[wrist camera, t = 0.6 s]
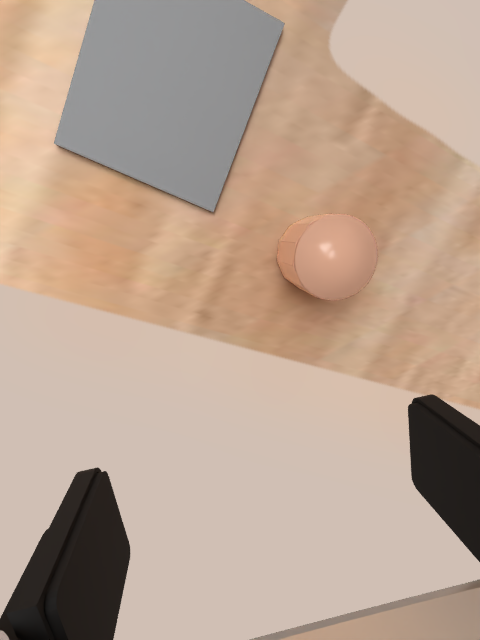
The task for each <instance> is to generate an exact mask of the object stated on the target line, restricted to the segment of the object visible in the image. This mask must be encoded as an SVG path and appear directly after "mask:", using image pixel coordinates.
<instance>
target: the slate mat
mask: <svg viewBox="0 0 480 640" xmlns="http://www.w3.org/2000/svg"><path fill="white" fill-rule="evenodd" d="M284 24H285V23H283V22H281V21H280V20H278V19H276V18H274V17H273V16H271V15H269V14H267V13H266V12H264V11H262V10H260V9H259V8H257V7H255V6H253V5H251V4H250V3H248V2H246V1H244V0H95V1H94V4H93V8H92V11H91V15H90V18H89V22H88V25H87V29H86V32H85V36H84V39H83V43H82V46H81V50H80V53H79V57H78V60H77V64H76V67H75V71H74V74H73V78H72V81H71V85H70V88H69V92H68V95H67V99H66V102H65V106H64V109H63V113H62V116H61V120H60V123H59V127H58V130H57V134H56V137H55V141H54V144H56V145H57V146H60V147H62V148H64V149H67V150H69V151H71V152H74V153H76V154H78V155H81V156H83V157H85V158H87V159H90V160H92V161H94V162H97V163H99V164H101V165H104V166H106V167H108V168H111V169H113V170H115V171H118V172H120V173H122V174H125V175H127V176H129V177H132V178H134V179H136V180H139V181H141V182H143V183H146V184H148V185H150V186H153V187H155V188H157V189H159V190H162V191H164V192H166V193H169V194H171V195H173V196H176V197H178V198H180V199H183V200H185V201H187V202H190V203H192V204H194V205H197V206H199V207H201V208H204V209H206V210H208V211H211V212H214V209H215V207H216V204H217V201H218V199H219V196H220V193H221V191H222V188H223V185H224V183H225V180H226V177H227V175H228V172H229V170H230V167H231V164H232V162H233V159H234V156H235V154H236V151H237V148H238V146H239V143H240V140H241V138H242V135H243V132H244V130H245V127H246V125H247V122H248V119H249V117H250V114H251V111H252V109H253V106H254V103H255V101H256V98H257V95H258V93H259V90H260V87H261V85H262V82H263V80H264V77H265V74H266V72H267V69H268V66H269V64H270V61H271V58H272V56H273V53H274V50H275V48H276V45H277V42H278V40H279V37H280V35H281V32H282V29H283V27H284Z"/></svg>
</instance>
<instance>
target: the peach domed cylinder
mask: <svg viewBox="0 0 480 640" xmlns="http://www.w3.org/2000/svg"><path fill="white" fill-rule="evenodd" d="M377 259H378V249H377V243H376V240H375V237H374V235H373V233H372V231H371V230H370V229H369V227H368V226H367V225H366V224H365V223H364V222H362V221H361V220H359V219H358V218H356V217H353V216H351V215H346V214H332V213H330V214H323V215H316V216H309V217H306V218H304V219H302V220H300V221H297V222H295V223H293V224H291V225H290V226H289V227H288V229H287V230H286V232H285V233H284V234H283V236H282V237H281V239H280V240H279V244H278V253H277V262H278V265H279V267H280V269H281V272H282V274H283V276H284V278H286V279H287V280H288V281H290V282H291V283H292V284H294V285H295V286H297V287H298V288H300V289H302V290H303V291H305V292H307V293H309V294H311V295H313V296H315V297H316V298H319V299H325V300H342V299H346V298H348V297H351V296H353V295H355V294H356V293H358V292H359V291H361V290H362V289H363V288H364V287H365V286H366V284H367V283H368V282H369V281H370V279H371V277H372V276H373V274H374V271H375V268H376V265H377Z"/></svg>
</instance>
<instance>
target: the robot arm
mask: <svg viewBox="0 0 480 640" xmlns="http://www.w3.org/2000/svg"><path fill="white" fill-rule="evenodd" d="M408 417H409V436H410V455H411V472H412V480H413V483H414V485H415V487H416V489H417V490H418V491H419V492H420V494H421V495H422V496H423V497H424V498H425V499H426V501H427V502H428V503H429V504H430V505H431V506H432V507H433V509H434V510H435V511H436V512H437V513H438V514H439V516H440V517H441V518H442V519H443V520H444V521H445V522H446V524H447V525H448V526H449V527H450V528H451V529H452V531H453V532H454V533H455V534H456V535H457V536H458V537H459V539H460V540H461V541H462V542H463V543H464V545H465V546H466V547H467V548H468V549H469V550H470V551H471V552H472V554H473V555H474V556H475V557H476V558H477V559H478V561H479V562H480V426H479V425H478V424H477V423H475V422H474V421H472V420H471V419H469V418H467V417H466V416H464V415H463V414H462V413H460V412H459V411H457V410H456V409H454V408H453V407H451V406H450V405H448V404H447V403H445V402H444V401H442V400H441V399H440V398H438V397H437V396H435V395H427V396H422V397H418V398H414V399H413V401H412V404H410V405H409V406H408ZM129 560H130V545H129V541H128V538H127V535H126V531H125V528H124V525H123V522H122V518H121V515H120V512H119V509H118V505H117V502H116V499H115V496H114V492H113V489H112V486H111V482H110V479H109V476H108V474H107V472H106V471H104V472H101V470H100V469H99V468H94V469H89V470H85V471H80V472H78V473H77V474H76V475H75V477H74V479H73V481H72V483H71V485H70V487H69V489H68V491H67V493H66V495H65V497H64V499H63V501H62V504H61V505H60V507H59V510H58V511H57V513H56V515H55V517H54V519H53V521H52V523H51V525H50V527H49V529H47V530H46V531H45V533H44V534H43V536H42V538H41V540H40V541H39V543H38V545H37V547H36V549H35V551H34V553H33V555H32V557H31V559H30V561H29V563H28V565H27V567H26V569H25V571H24V573H23V575H22V577H21V579H20V581H19V583H18V585H17V587H16V589H15V590H14V592H13V594H12V597H11V598H10V600H9V602H8V604H7V606H6V608H5V610H4V612H3V614H2V616H1V618H0V640H113V638H114V633H115V628H116V623H117V618H118V614H119V609H120V604H121V598H122V594H123V589H124V584H125V579H126V574H127V570H128V565H129ZM251 640H480V580H477V581H473V582H468V583H465V584H461V585H457V586H453V587H449V588H445V589H441V590H437V591H434V592H430V593H426V594H422V595H418V596H414V597H410V598H406V599H402V600H398V601H394V602H390V603H387V604H383V605H379V606H375V607H371V608H368V609H364V610H360V611H356V612H352V613H348V614H345V615H341V616H337V617H334V618H329V619H326V620H322V621H318V622H314V623H311V624H307V625H303V626H299V627H296V628H292V629H288V630H284V631H280V632H276V633H273V634H269V635H265V636H261V637H258V638H254V639H251Z"/></svg>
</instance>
